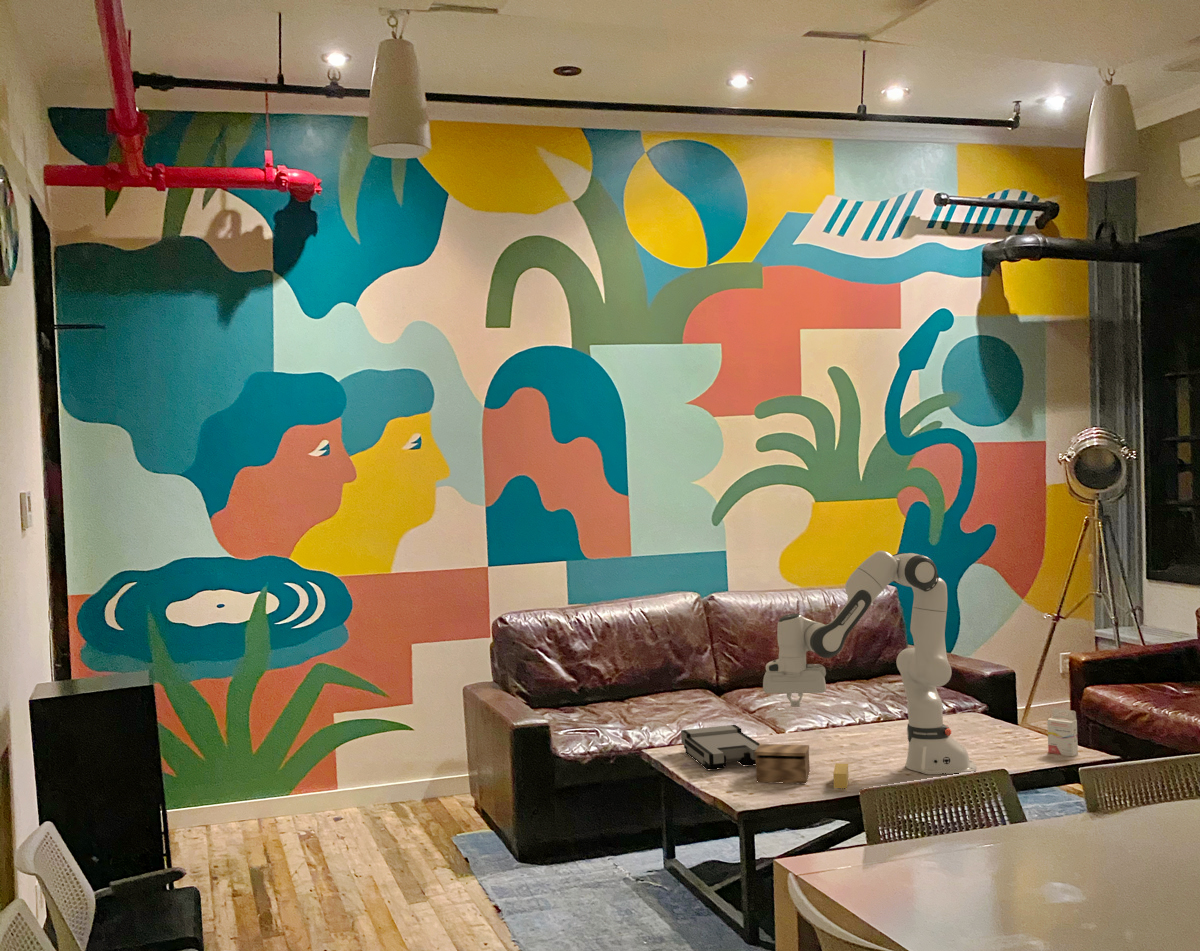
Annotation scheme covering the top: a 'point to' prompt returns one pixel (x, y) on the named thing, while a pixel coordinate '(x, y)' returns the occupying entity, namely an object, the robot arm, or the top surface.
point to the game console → (719, 746)
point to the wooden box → (782, 768)
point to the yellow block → (841, 775)
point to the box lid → (782, 750)
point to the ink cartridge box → (1062, 733)
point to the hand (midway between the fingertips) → (795, 706)
